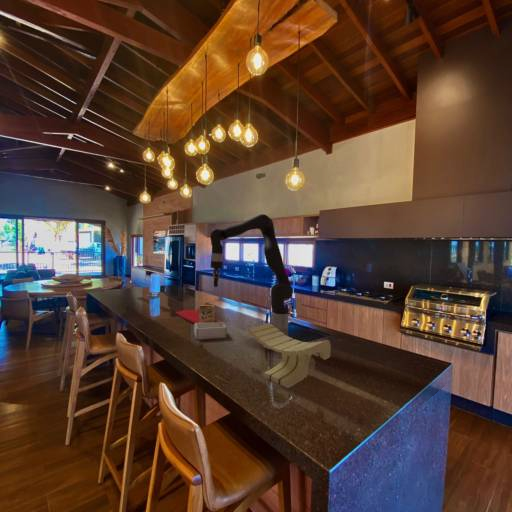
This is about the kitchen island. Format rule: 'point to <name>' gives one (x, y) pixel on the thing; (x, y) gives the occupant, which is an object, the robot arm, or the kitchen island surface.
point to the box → (210, 330)
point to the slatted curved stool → (289, 354)
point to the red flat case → (191, 315)
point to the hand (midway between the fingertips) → (215, 285)
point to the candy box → (206, 313)
